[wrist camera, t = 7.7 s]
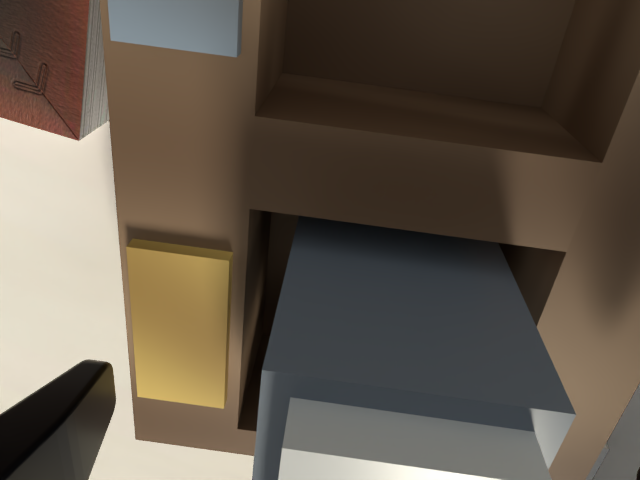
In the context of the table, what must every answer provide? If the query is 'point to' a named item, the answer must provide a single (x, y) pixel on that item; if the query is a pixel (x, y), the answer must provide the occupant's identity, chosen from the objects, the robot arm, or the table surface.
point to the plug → (404, 363)
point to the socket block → (370, 179)
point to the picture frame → (53, 65)
